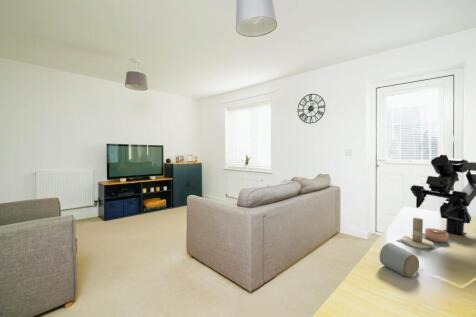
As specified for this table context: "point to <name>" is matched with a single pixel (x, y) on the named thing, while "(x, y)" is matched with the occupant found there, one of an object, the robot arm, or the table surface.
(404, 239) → the birch lid
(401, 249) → the ceramic mug
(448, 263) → the table surface
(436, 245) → the slate mat
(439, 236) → the terracotta bowl
